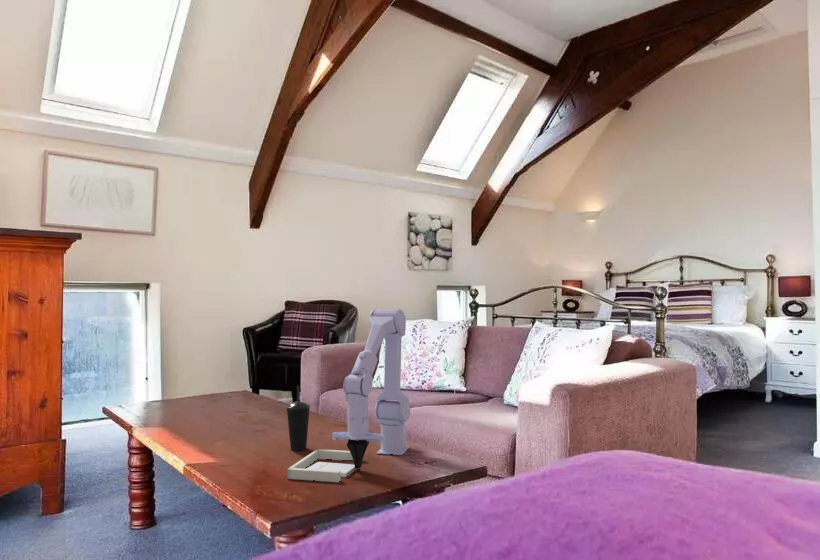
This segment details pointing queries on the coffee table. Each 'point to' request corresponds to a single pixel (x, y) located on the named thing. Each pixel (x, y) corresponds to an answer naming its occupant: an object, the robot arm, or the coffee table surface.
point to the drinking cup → (298, 423)
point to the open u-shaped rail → (315, 474)
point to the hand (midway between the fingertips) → (358, 467)
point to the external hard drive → (334, 467)
